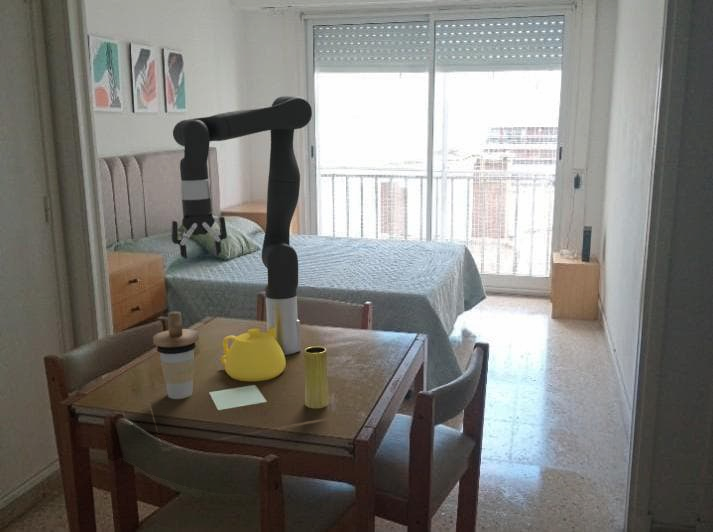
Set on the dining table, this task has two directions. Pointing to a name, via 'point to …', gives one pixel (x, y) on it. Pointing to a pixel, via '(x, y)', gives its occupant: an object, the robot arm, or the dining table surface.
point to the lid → (175, 333)
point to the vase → (316, 378)
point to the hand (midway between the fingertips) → (201, 256)
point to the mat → (237, 397)
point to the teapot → (253, 356)
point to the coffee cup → (178, 370)
